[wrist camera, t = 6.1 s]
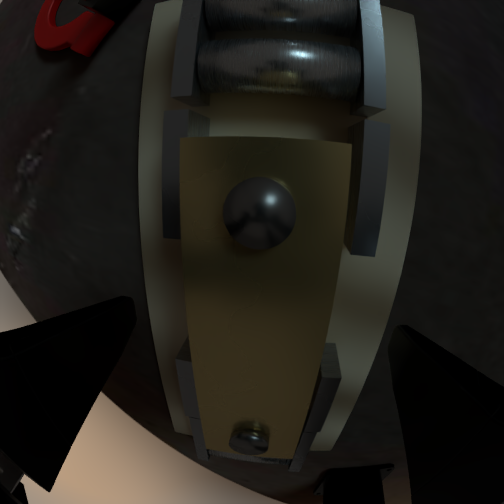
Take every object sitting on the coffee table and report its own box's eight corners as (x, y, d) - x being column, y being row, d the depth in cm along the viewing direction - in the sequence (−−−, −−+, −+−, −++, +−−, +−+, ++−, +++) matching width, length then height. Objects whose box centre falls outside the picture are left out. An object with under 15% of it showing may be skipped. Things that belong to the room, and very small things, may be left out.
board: (330, 439, 16) (330, 450, 15) (179, 421, 17) (175, 431, 16) (405, 23, 7) (413, 15, 6) (164, 12, 8) (155, 3, 8)
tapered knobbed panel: (295, 385, 13) (292, 466, 8) (227, 378, 13) (203, 456, 9) (324, 150, 9) (356, 142, 5) (226, 145, 10) (172, 136, 5)
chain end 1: (199, 0, 7) (181, -27, 5) (367, 6, 7) (382, -21, 5) (185, 221, 11) (160, 237, 9) (360, 236, 10) (377, 257, 8)
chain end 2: (302, 448, 15) (301, 475, 13) (203, 436, 16) (194, 461, 13) (337, 343, 12) (344, 378, 9) (190, 327, 12) (172, 358, 10)
